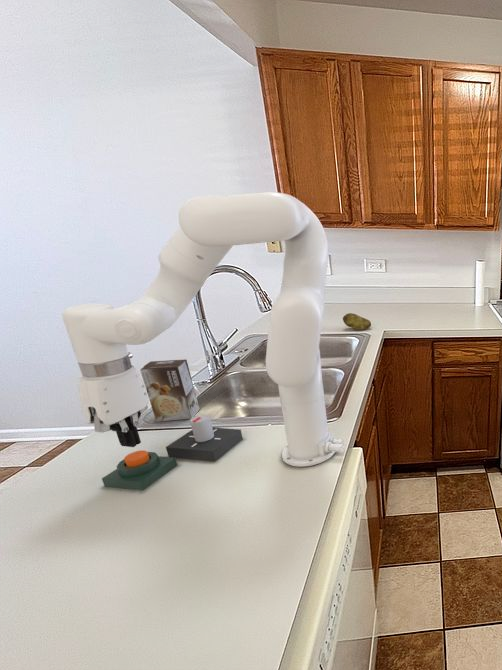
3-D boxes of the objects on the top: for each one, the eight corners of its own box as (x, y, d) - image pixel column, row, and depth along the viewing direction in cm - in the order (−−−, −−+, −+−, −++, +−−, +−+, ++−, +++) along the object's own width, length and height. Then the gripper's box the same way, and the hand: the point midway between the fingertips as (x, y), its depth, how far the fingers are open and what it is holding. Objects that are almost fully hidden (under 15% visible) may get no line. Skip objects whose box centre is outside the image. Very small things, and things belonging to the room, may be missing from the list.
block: (177, 465, 93) (173, 450, 91) (143, 490, 84) (138, 475, 83) (142, 462, 93) (137, 447, 92) (104, 487, 85) (98, 471, 83)
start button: (154, 457, 89) (152, 451, 88) (138, 468, 85) (136, 461, 85) (138, 456, 89) (135, 449, 89) (121, 466, 86) (118, 460, 85)
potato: (366, 332, 195) (364, 316, 192) (341, 330, 196) (340, 314, 193) (372, 327, 202) (371, 312, 199) (349, 326, 204) (347, 310, 201)
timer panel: (243, 439, 104) (240, 428, 102) (215, 462, 94) (212, 450, 93) (200, 435, 105) (197, 425, 103) (168, 457, 95) (165, 446, 94)
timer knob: (203, 433, 100) (197, 412, 98) (218, 434, 100) (213, 413, 98) (191, 441, 97) (185, 420, 95) (206, 442, 96) (201, 421, 94)
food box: (200, 408, 118) (188, 358, 112) (192, 419, 112) (179, 366, 107) (164, 411, 116) (150, 360, 110) (154, 422, 110) (138, 369, 104)
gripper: (124, 352, 87) (145, 425, 93) (47, 379, 73) (79, 463, 79) (156, 355, 86) (175, 428, 92) (85, 382, 72) (113, 466, 78)
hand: (131, 444), depth 86 cm, fingers closed
